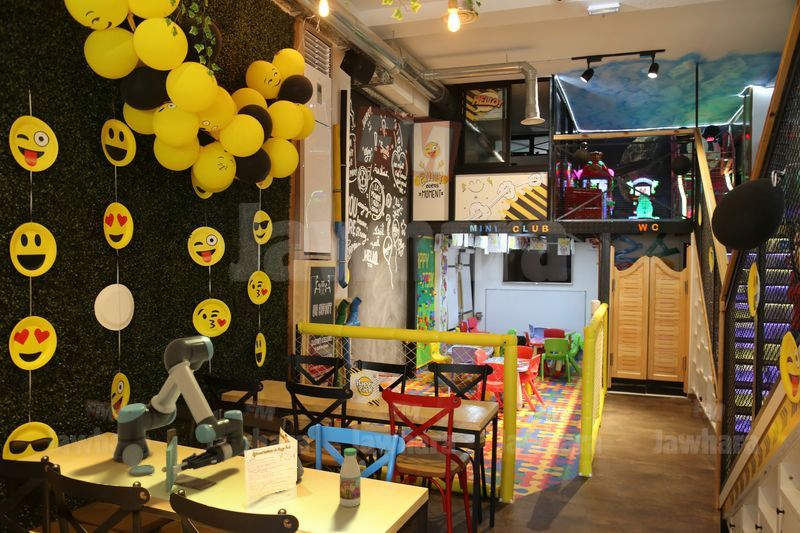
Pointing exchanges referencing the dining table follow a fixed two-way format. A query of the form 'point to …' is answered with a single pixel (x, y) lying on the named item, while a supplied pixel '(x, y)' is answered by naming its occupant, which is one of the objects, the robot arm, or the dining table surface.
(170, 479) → the door
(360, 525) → the dining table surface
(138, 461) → the pocket watch
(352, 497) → the milk bottle
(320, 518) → the dining table surface
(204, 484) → the door frame
